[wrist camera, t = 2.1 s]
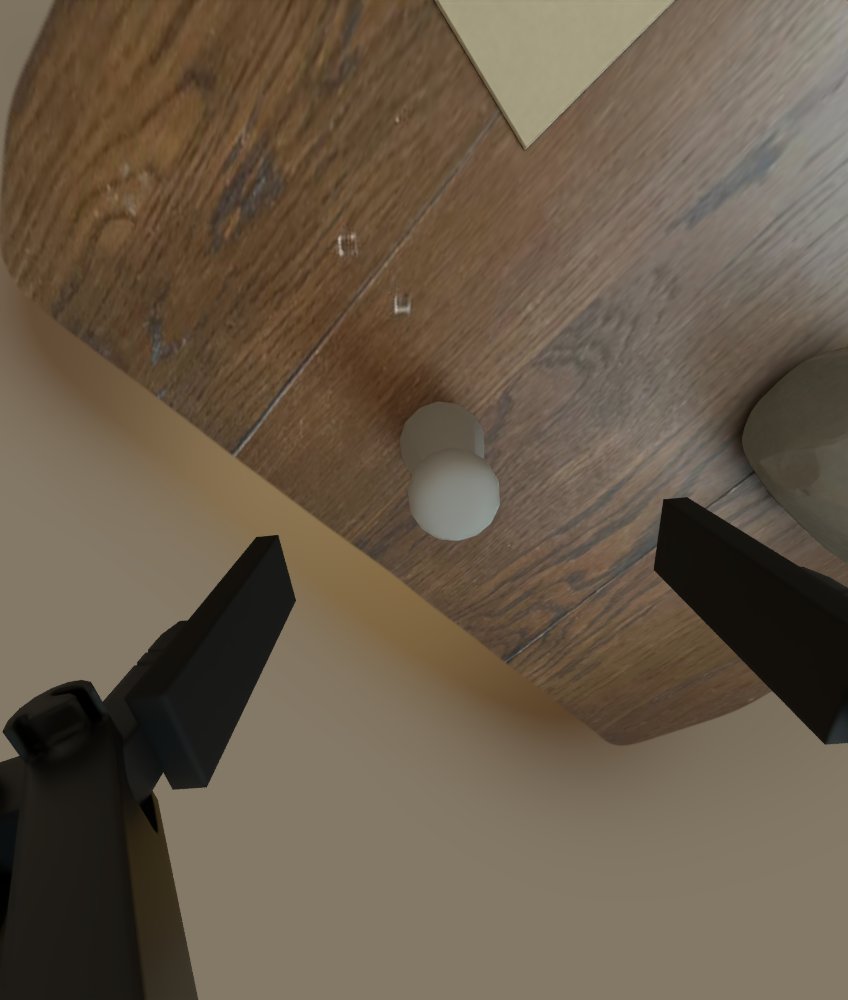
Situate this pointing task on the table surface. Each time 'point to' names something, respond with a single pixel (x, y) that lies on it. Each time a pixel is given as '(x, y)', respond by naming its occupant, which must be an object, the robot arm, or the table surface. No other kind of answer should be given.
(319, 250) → the table surface
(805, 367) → the decorative stone
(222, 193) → the table surface
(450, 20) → the placemat
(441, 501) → the salt shaker
